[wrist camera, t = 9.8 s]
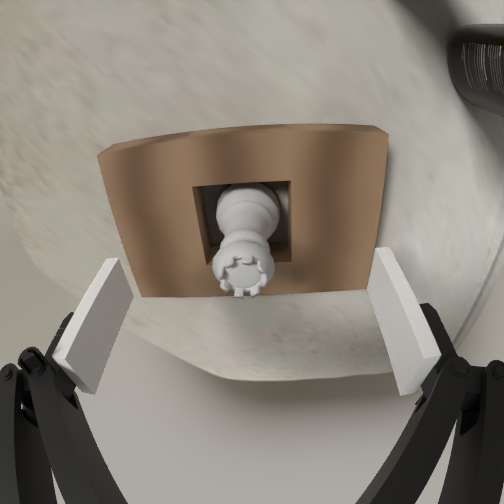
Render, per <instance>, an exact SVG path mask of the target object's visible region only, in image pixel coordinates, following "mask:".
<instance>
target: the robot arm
mask: <svg viewBox="0 0 504 504" xmlns="http://www.w3.org/2000/svg"><path fill="white" fill-rule="evenodd" d="M367 292H368V295H369V297H370V300H371V303H372V306H373V309H374V312H375V315H376V317H377V320H378V323H379V326H380V329H381V333H382V336H383V339H384V342H385V345H386V348H387V352H388V355H389V358H390V362H391V365H392V368H393V372H394V375H395V378H396V382H397V386H398V390H399V394H400V396H403V395H408V394H413V393H416V392H417V391H418V389H419V388H420V386H421V387H422V390H423V394H422V396H421V397H420V398H419V400H418V401H417V402H416V403H415V405H417V406H416V408H415V410H414V412H413V414H412V416H411V417H410V419H409V421H408V423H407V425H406V427H405V429H404V430H403V432H402V434H401V436H400V438H399V439H398V441H397V443H396V445H395V446H394V448H393V449H392V451H391V453H390V455H389V456H388V458H387V459H386V461H385V462H384V464H383V465H382V467H381V469H380V470H379V471H378V473H377V474H376V476H375V477H374V479H373V480H372V482H371V483H370V485H369V486H368V487H367V489H366V490H365V492H364V493H363V494H362V496H361V497H360V498H359V500H358V501H357V502H356V503H355V504H415V502H416V501H417V499H418V498H419V496H420V494H421V493H422V491H423V489H424V487H425V486H426V484H427V482H428V480H429V478H430V476H431V474H432V473H433V471H434V469H435V467H436V465H437V463H438V461H439V459H440V457H441V454H442V452H443V450H444V448H445V446H446V443H447V441H448V439H449V437H450V434H451V432H452V429H453V427H454V424H455V422H456V419H457V423H456V429H455V435H454V441H453V446H452V451H451V456H450V460H449V465H448V469H447V473H446V477H445V481H444V485H443V488H442V492H441V495H440V498H439V502H438V504H499V503H500V498H501V494H502V488H503V483H504V362H502V361H499V360H493V361H491V362H490V363H489V364H488V366H487V367H478V366H471V365H470V364H469V363H468V362H467V361H466V360H465V359H464V358H462V357H459V356H458V355H457V354H456V351H455V349H454V347H453V345H452V342H451V340H450V338H449V336H448V334H447V332H446V330H445V329H444V325H443V323H442V322H441V319H440V317H439V315H438V313H437V311H436V310H435V309H434V308H433V307H432V306H431V305H430V304H429V303H425V304H419V303H418V301H417V299H416V297H415V295H414V293H413V291H412V289H411V287H410V285H409V283H408V281H407V279H406V277H405V276H404V274H403V272H402V270H401V268H400V266H399V264H398V262H397V261H396V259H395V257H394V255H393V253H392V251H391V250H390V248H389V247H381V248H375V252H374V257H373V262H372V267H371V272H370V277H369V281H368V286H367ZM133 297H134V296H133V293H132V291H131V289H130V286H129V284H128V281H127V279H126V276H125V274H124V271H123V269H122V266H121V263H120V261H119V258H110V259H106V261H105V262H104V264H103V265H102V267H101V269H100V270H99V272H98V273H97V275H96V277H95V278H94V280H93V282H92V283H91V285H90V287H89V288H88V290H87V292H86V293H85V295H84V297H83V299H82V300H81V302H80V304H79V306H78V307H77V309H76V311H75V313H73V312H71V313H70V314H69V315H68V316H67V317H66V318H65V319H64V320H63V322H62V324H61V326H60V329H58V331H57V333H56V336H55V337H54V339H53V340H52V342H51V344H50V346H49V348H48V350H47V352H46V354H45V356H43V355H42V353H41V352H40V351H39V349H37V348H36V347H29V348H27V349H25V350H24V351H23V352H22V353H21V354H20V356H19V359H18V365H19V366H20V367H21V368H22V369H21V370H19V369H18V368H17V367H16V366H15V365H14V364H12V363H10V364H7V365H5V366H4V367H3V368H2V369H1V371H0V504H57V500H56V495H55V489H54V484H53V477H52V471H53V474H54V477H55V479H56V482H57V484H58V487H59V489H60V492H61V494H62V496H63V499H64V501H65V503H66V504H128V503H127V502H126V500H125V498H124V497H123V495H122V493H121V491H120V490H119V488H118V486H117V484H116V482H115V480H114V479H113V477H112V475H111V473H110V471H109V469H108V467H107V465H106V463H105V461H104V459H103V457H102V455H101V453H100V451H99V448H98V447H97V444H96V442H95V439H94V437H93V435H92V432H91V430H90V428H89V425H88V423H87V420H86V418H85V415H84V413H83V410H82V408H81V405H80V402H79V399H78V396H77V394H76V392H75V391H74V389H75V387H76V386H77V387H78V388H79V389H80V390H81V391H82V392H85V393H89V394H95V393H96V390H97V387H98V384H99V382H100V379H101V376H102V373H103V371H104V368H105V365H106V363H107V360H108V357H109V355H110V352H111V350H112V347H113V345H114V342H115V340H116V337H117V335H118V332H119V330H120V327H121V325H122V323H123V320H124V318H125V316H126V313H127V311H128V309H129V306H130V304H131V302H132V299H133ZM21 404H22V405H23V408H22V409H21ZM51 468H52V471H51Z"/></svg>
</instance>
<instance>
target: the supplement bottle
mask: <svg viewBox="0 0 504 504" xmlns="http://www.w3.org/2000/svg"><path fill="white" fill-rule="evenodd" d="M447 58H448V66H449V71H450V74H451V77H452V79H453V82H454V84H455V86H456V87H457V89H458V90H459V92H460V93H461V95H462V96H463V97H464V98H465V99H466V100H467V101H468V102H470V103H471V104H472V105H474V106H476V107H478V108H481V109H483V110H486V111H489V112H492V113H494V114H497V115H500V116H502V117H504V24H473V25H465V26H462V27H460V28H459V29H457V30H456V31H455V32H454V34H453V35H452V37H451V39H450V41H449V45H448V52H447Z"/></svg>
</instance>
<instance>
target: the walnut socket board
mask: <svg viewBox="0 0 504 504" xmlns="http://www.w3.org/2000/svg"><path fill="white" fill-rule="evenodd" d="M387 148H388V133H386V132H384V131H383V130H381V129H379V128H377V127H376V126H371V125H350V124H278V125H257V126H242V127H229V128H218V129H209V130H200V131H191V132H184V133H176V134H170V135H163V136H157V137H151V138H145V139H139V140H134V141H128V142H123V143H118V144H114V145H112V146H110V147H109V148H107V149H106V150H104V151H102V152H101V153H99V154H98V155H97V157H98V161H99V165H100V169H101V173H102V177H103V181H104V185H105V188H106V192H107V195H108V199H109V203H110V206H111V209H112V213H113V216H114V219H115V223H116V226H117V229H118V232H119V235H120V238H121V241H122V244H123V247H124V250H125V253H126V256H127V259H128V261H129V264H130V267H131V270H132V273H133V275H134V278H135V281H136V283H137V286H138V288H139V291H140V294H141V296H142V297H213V296H234V291H233V290H231V289H229V291H228V292H226V293H225V292H224V291H223V290H222V289H221V288H220V281H219V280H217V278H216V277H215V275H214V272H213V269H212V264H213V258H214V256H215V255H216V253H217V252H218V251H219V249H220V246H211V243H210V237H209V231H208V225H207V219H206V213H205V207H204V201H203V194H202V188H201V186H207V185H219V184H233V183H249V182H267V181H288V213H289V242H285V243H269V248H270V255H271V256H272V257H273V260H274V264H275V271H274V274H273V278H272V279H271V280H270V281H269V282H268V283H267V286H266V288H265V287H261V293H260V294H259V295H273V294H294V293H312V292H328V291H343V290H357V289H367V284H368V279H369V275H370V270H371V265H372V259H373V254H374V249H375V243H376V237H377V231H378V225H379V218H380V212H381V204H382V197H383V189H384V180H385V171H386V160H387ZM248 295H251V294H250V292H245V293H244V294H243V296H248Z"/></svg>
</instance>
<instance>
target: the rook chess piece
mask: <svg viewBox="0 0 504 504" xmlns="http://www.w3.org/2000/svg"><path fill="white" fill-rule="evenodd" d="M216 211H217V212H216V219H217V222H218V225H219V229H220V230H221V231H222V233H223V234H224V235H225V238H224V239H223V241H222V242H221V245H220V249H219V251H218V252H217V253H216V255H215V256H214V258H213V264H212V269H213V272H214V275H215V277H216V278H217V280H219V281H220V288H221V289H222V290H223V291H224V292H225V293H226V292H228V291H229V289H231V290H233V291H234V297H236V298H242V299H243V294H244V293H245V292H250V294H251V296H252V297H255V296H257V295H259V294H260V293H261V287H265V288H266V286H267V283H268V282H269V281H270V280H271V279H272V278H273V274H274V271H275V264H274V260H273V257H272V256H271V255H270V248H269V243H268V242H267V239H268V238H269V237H270V236H271V235H272V233H273V232H274V231H275V230H276V228H277V225H278V221H279V218H280V215H279V213H280V207H279V202H278V199H277V197H276V196H275V194H274V193H273V192H272V190H271V189H269V188H267V187H266V186H264V185H263V184H261V183H257V182H249V183H234V184H233V185H231V186H230V187H228V188H227V189H225V190H224V191H223V193H222V194H221V196H220V197H219V199H218V203H217V210H216Z"/></svg>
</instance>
